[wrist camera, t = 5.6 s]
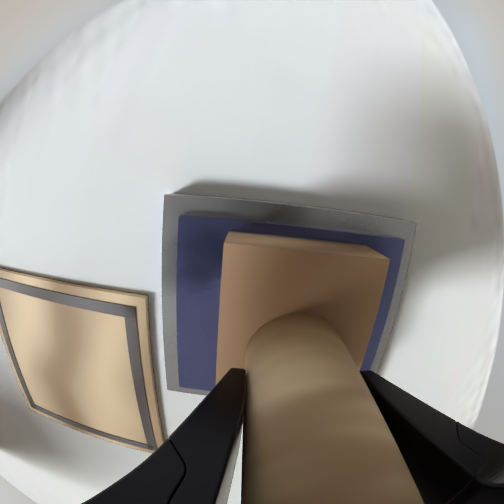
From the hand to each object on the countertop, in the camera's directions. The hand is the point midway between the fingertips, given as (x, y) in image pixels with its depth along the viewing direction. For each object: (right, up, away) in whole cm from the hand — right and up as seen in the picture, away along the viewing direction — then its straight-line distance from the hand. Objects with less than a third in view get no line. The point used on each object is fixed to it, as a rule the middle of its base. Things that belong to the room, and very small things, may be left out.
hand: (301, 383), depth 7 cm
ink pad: (0, +1, +5) cm, 5 cm away
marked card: (-13, -3, +6) cm, 14 cm away
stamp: (0, +1, +3) cm, 4 cm away
